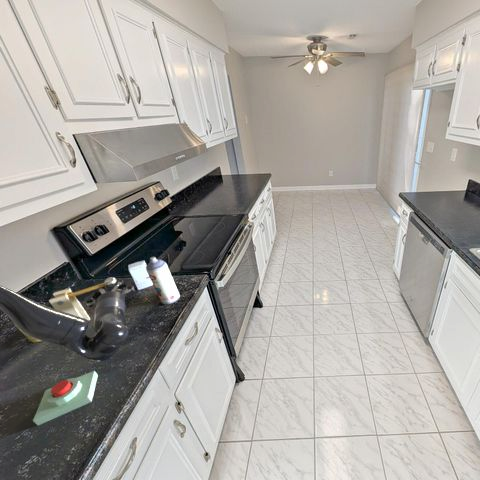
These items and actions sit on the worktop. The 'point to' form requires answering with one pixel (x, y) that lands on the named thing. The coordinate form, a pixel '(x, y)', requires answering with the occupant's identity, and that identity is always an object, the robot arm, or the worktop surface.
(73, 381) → the box
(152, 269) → the aerosol can
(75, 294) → the lever
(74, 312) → the lock bracket
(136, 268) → the cosmetic box
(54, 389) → the release button
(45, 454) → the worktop surface
